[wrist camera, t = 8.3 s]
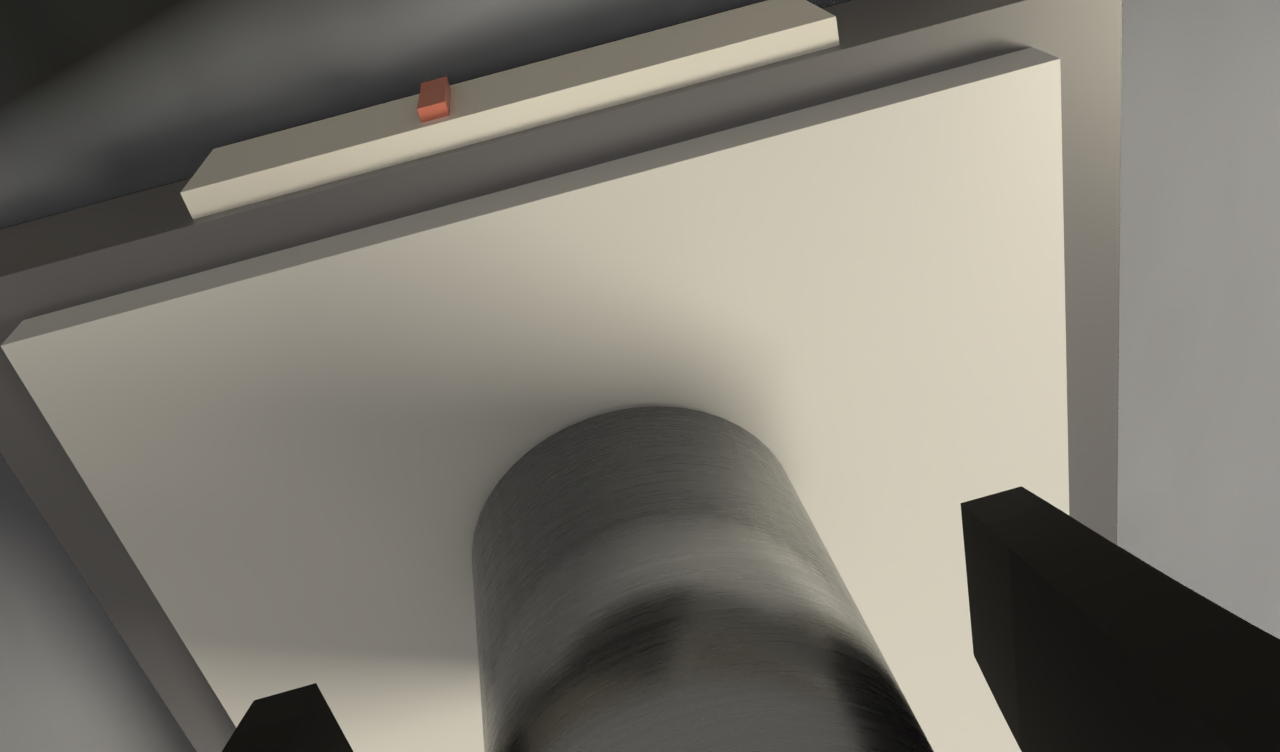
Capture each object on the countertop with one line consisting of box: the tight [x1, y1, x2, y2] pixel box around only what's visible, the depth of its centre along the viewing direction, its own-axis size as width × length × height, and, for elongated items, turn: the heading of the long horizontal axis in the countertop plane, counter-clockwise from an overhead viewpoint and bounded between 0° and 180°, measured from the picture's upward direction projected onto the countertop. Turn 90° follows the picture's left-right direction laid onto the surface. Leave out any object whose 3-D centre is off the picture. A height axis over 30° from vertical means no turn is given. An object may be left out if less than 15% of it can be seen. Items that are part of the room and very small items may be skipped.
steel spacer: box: [472, 406, 934, 752], centre depth 10 cm, size 4×4×6 cm
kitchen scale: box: [0, 0, 1122, 752], centre depth 16 cm, size 13×20×3 cm, turn 12°
